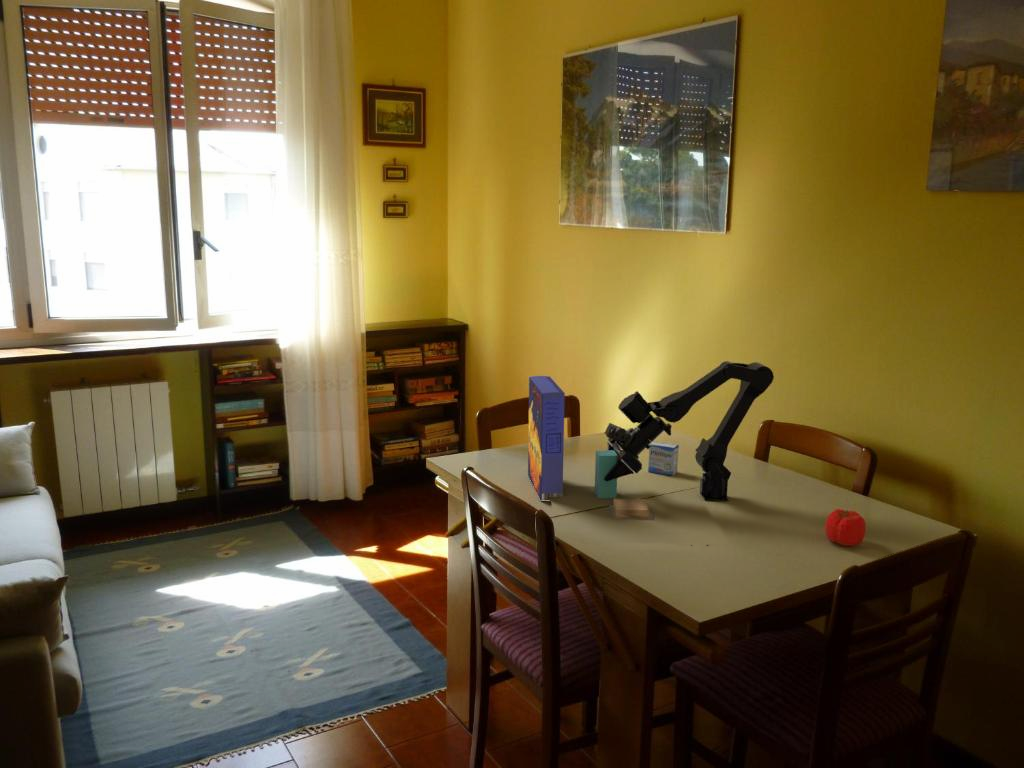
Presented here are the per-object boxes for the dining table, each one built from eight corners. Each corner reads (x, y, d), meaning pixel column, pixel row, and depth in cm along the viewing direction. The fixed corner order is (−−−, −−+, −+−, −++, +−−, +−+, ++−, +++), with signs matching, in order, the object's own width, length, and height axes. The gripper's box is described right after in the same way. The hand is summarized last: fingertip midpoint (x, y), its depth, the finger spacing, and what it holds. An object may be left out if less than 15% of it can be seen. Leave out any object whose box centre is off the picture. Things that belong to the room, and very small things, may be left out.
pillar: (612, 495, 232) (614, 450, 229) (616, 502, 227) (617, 455, 224) (594, 496, 231) (595, 450, 229) (597, 502, 226) (599, 455, 224)
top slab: (644, 506, 220) (644, 499, 220) (648, 517, 212) (648, 510, 212) (613, 506, 220) (613, 498, 220) (616, 517, 212) (616, 509, 212)
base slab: (646, 512, 222) (647, 505, 221) (653, 526, 212) (654, 519, 211) (608, 512, 221) (609, 504, 221) (613, 526, 212) (614, 518, 211)
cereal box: (528, 476, 248) (529, 375, 242) (548, 475, 249) (549, 375, 242) (540, 501, 227) (542, 392, 220) (562, 500, 228) (564, 391, 221)
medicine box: (647, 472, 253) (648, 444, 251) (652, 468, 256) (653, 440, 255) (673, 476, 249) (674, 447, 247) (677, 472, 253) (679, 444, 251)
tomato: (824, 533, 206) (827, 504, 205) (863, 539, 203) (866, 509, 201) (823, 547, 198) (826, 517, 196) (864, 553, 194) (867, 522, 193)
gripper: (616, 405, 234) (575, 445, 235) (631, 423, 215) (587, 465, 217) (643, 433, 236) (603, 471, 237) (660, 452, 218) (616, 494, 219)
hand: (601, 474), depth 228 cm, fingers open, 9 cm apart
